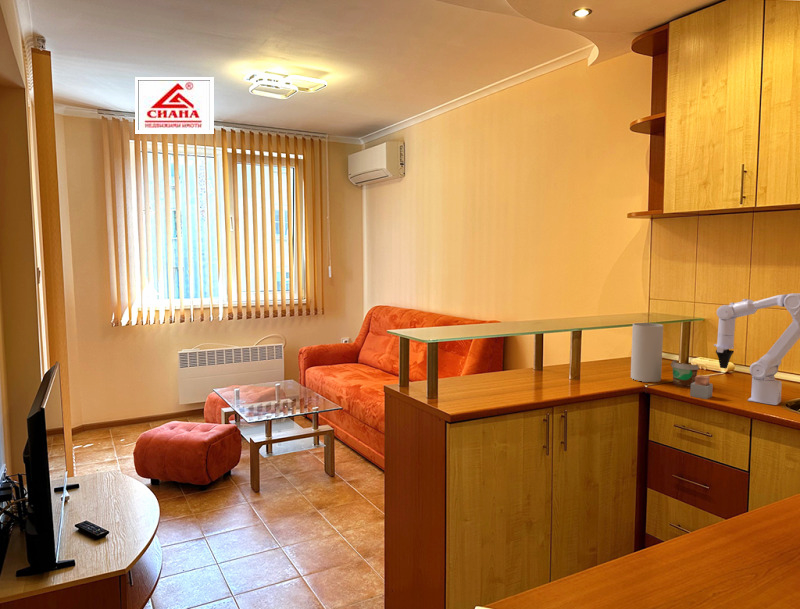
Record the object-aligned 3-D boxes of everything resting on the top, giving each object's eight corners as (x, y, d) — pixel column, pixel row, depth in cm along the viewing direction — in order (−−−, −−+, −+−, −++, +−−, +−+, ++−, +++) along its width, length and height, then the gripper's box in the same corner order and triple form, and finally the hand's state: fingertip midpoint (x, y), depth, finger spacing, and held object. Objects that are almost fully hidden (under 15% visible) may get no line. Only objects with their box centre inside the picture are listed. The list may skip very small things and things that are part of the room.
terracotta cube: (709, 386, 220) (709, 376, 220) (705, 388, 217) (706, 378, 217) (698, 384, 223) (698, 375, 222) (694, 386, 220) (695, 376, 220)
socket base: (712, 396, 220) (712, 383, 220) (707, 399, 216) (707, 386, 216) (695, 393, 225) (695, 381, 224) (690, 396, 220) (690, 384, 220)
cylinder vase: (655, 377, 255) (657, 323, 253) (665, 383, 243) (667, 326, 240) (627, 376, 256) (628, 322, 254) (635, 382, 244) (637, 326, 242)
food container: (663, 383, 243) (664, 360, 242) (674, 382, 245) (675, 359, 244) (687, 389, 232) (688, 365, 231) (698, 388, 234) (699, 364, 233)
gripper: (720, 331, 231) (717, 363, 232) (709, 335, 221) (707, 369, 222) (739, 333, 226) (736, 366, 228) (729, 337, 216) (726, 371, 217)
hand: (723, 367), depth 225 cm, fingers closed
